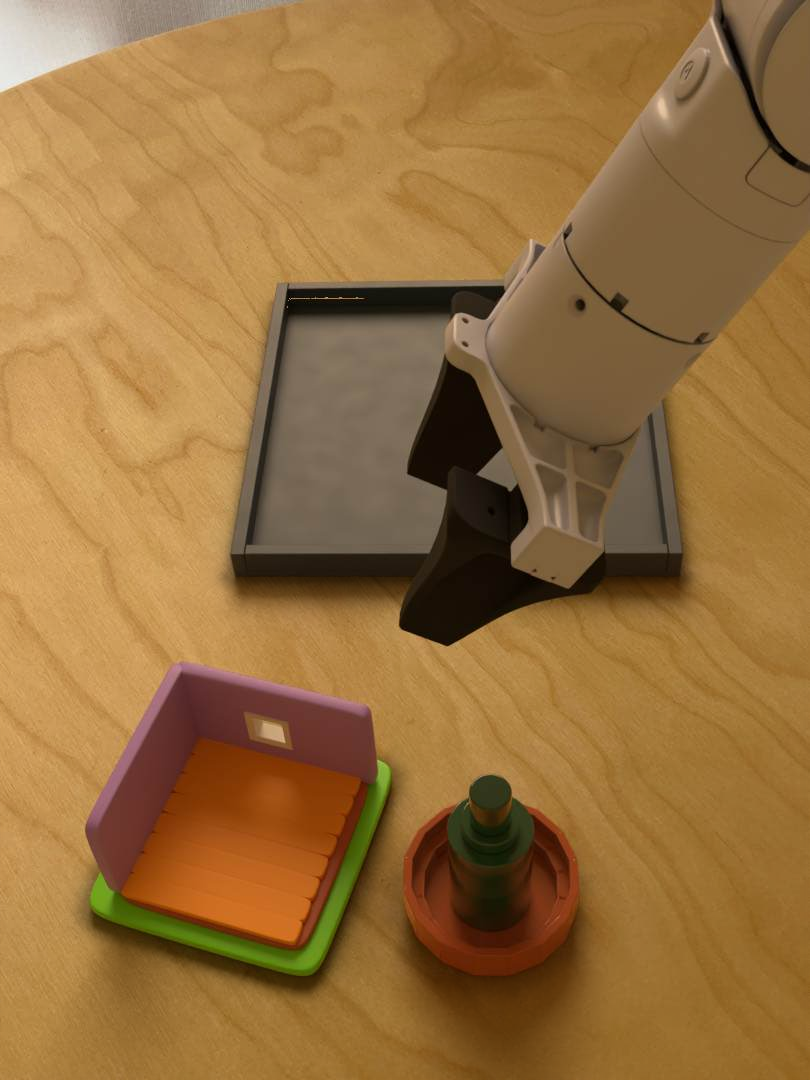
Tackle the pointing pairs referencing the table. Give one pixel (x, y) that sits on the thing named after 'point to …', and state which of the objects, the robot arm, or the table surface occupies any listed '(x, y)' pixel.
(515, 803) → the bottle
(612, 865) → the table surface
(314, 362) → the tray
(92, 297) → the table surface
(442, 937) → the dish
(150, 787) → the miniature room corner
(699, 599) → the table surface
